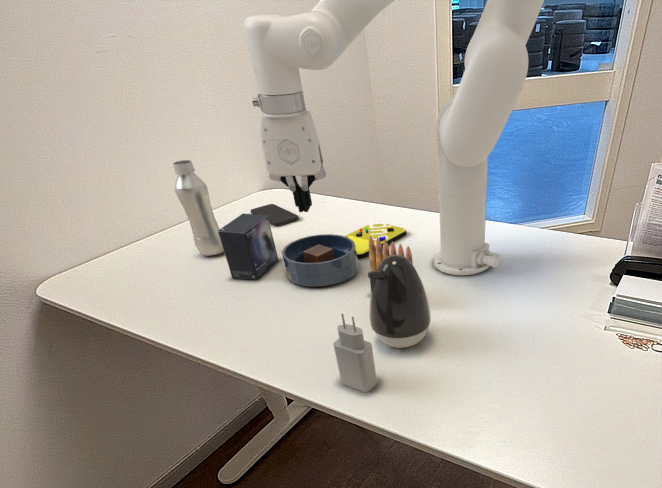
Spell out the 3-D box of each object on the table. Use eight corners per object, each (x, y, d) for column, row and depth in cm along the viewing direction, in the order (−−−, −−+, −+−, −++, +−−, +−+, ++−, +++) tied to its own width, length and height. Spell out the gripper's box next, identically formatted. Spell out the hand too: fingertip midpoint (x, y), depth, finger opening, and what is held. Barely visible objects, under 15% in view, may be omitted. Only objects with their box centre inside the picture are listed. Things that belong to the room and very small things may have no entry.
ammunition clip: (371, 295, 96) (363, 236, 88) (377, 291, 97) (370, 233, 89) (413, 309, 91) (409, 249, 83) (419, 305, 92) (415, 245, 84)
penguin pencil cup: (360, 340, 83) (346, 257, 73) (404, 317, 89) (397, 237, 79) (398, 364, 78) (389, 278, 68) (443, 338, 83) (441, 255, 73)
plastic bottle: (229, 255, 112) (199, 164, 99) (199, 261, 111) (164, 168, 98) (228, 245, 117) (199, 156, 104) (198, 250, 115) (165, 160, 102)
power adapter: (351, 371, 77) (339, 305, 69) (379, 381, 74) (369, 314, 67) (339, 382, 75) (325, 315, 67) (367, 393, 72) (355, 325, 65)
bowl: (372, 267, 105) (369, 243, 102) (322, 296, 96) (317, 270, 93) (324, 252, 112) (320, 229, 109) (273, 277, 103) (266, 253, 100)
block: (336, 268, 104) (333, 248, 101) (321, 276, 101) (317, 256, 98) (322, 263, 106) (318, 244, 103) (307, 271, 104) (302, 251, 101)
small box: (258, 281, 102) (244, 232, 95) (231, 279, 103) (215, 231, 96) (280, 260, 110) (269, 213, 103) (254, 258, 111) (241, 212, 104)
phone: (275, 223, 125) (248, 210, 133) (276, 227, 125) (249, 213, 134) (300, 216, 129) (272, 203, 137) (300, 219, 129) (273, 206, 138)
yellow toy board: (362, 260, 108) (361, 253, 107) (326, 250, 113) (325, 244, 112) (409, 233, 120) (408, 227, 119) (374, 225, 124) (374, 219, 123)
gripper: (234, 109, 82) (263, 217, 94) (321, 106, 82) (339, 215, 94) (247, 102, 88) (272, 204, 99) (328, 99, 87) (344, 202, 99)
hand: (304, 209), depth 97 cm, fingers closed
